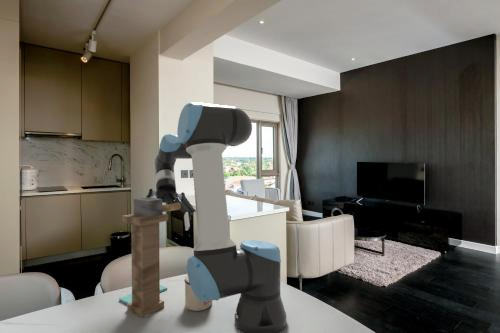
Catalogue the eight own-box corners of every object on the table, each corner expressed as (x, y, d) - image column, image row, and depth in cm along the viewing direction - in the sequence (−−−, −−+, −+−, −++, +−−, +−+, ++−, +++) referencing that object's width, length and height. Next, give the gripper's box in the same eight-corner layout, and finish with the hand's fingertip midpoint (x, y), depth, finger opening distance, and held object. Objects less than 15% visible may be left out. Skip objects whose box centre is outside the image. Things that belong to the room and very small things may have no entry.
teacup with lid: (209, 312, 93) (209, 275, 93) (180, 311, 94) (180, 274, 93) (216, 295, 105) (216, 262, 105) (191, 294, 106) (191, 261, 105)
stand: (168, 306, 96) (168, 214, 96) (141, 320, 88) (140, 219, 88) (149, 298, 102) (149, 211, 102) (122, 310, 94) (121, 215, 94)
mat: (166, 289, 109) (166, 287, 109) (129, 305, 97) (129, 303, 97) (156, 285, 113) (156, 283, 113) (119, 300, 101) (119, 298, 100)
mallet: (171, 208, 108) (171, 194, 108) (186, 210, 103) (186, 196, 103) (133, 214, 96) (133, 198, 96) (148, 217, 91) (148, 200, 91)
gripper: (192, 192, 128) (199, 234, 114) (131, 186, 116) (129, 232, 102) (198, 181, 124) (205, 223, 109) (135, 172, 112) (134, 218, 98)
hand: (169, 227), depth 106 cm, fingers open, 13 cm apart
